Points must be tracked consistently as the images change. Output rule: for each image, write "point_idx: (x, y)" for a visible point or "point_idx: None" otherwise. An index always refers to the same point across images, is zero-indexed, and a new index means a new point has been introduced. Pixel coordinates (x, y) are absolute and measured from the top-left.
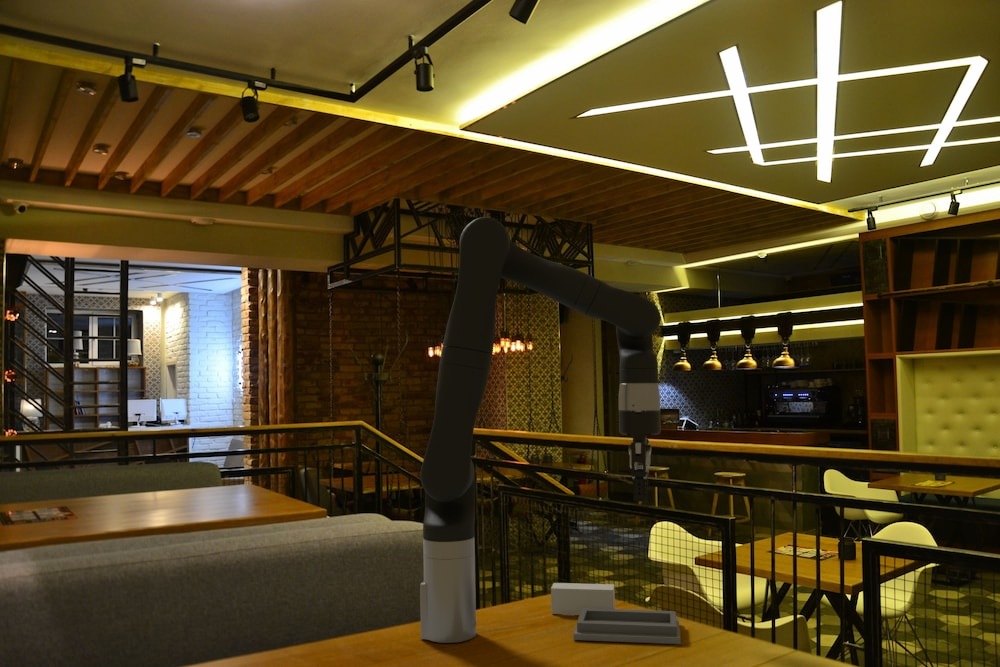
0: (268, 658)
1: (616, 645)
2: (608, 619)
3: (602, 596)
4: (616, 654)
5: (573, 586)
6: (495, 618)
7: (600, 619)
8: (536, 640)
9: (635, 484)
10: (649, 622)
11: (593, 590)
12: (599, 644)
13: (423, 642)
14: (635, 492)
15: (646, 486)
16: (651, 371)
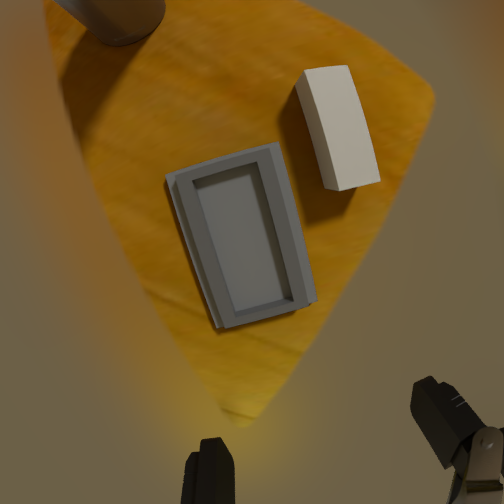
0: None
1: (177, 242)
2: (266, 199)
3: (329, 169)
4: (141, 255)
5: (336, 107)
6: (235, 19)
7: (262, 185)
8: (149, 121)
9: (182, 501)
10: (276, 268)
11: (329, 151)
12: (170, 217)
13: None
14: (185, 472)
15: (425, 432)
16: None
